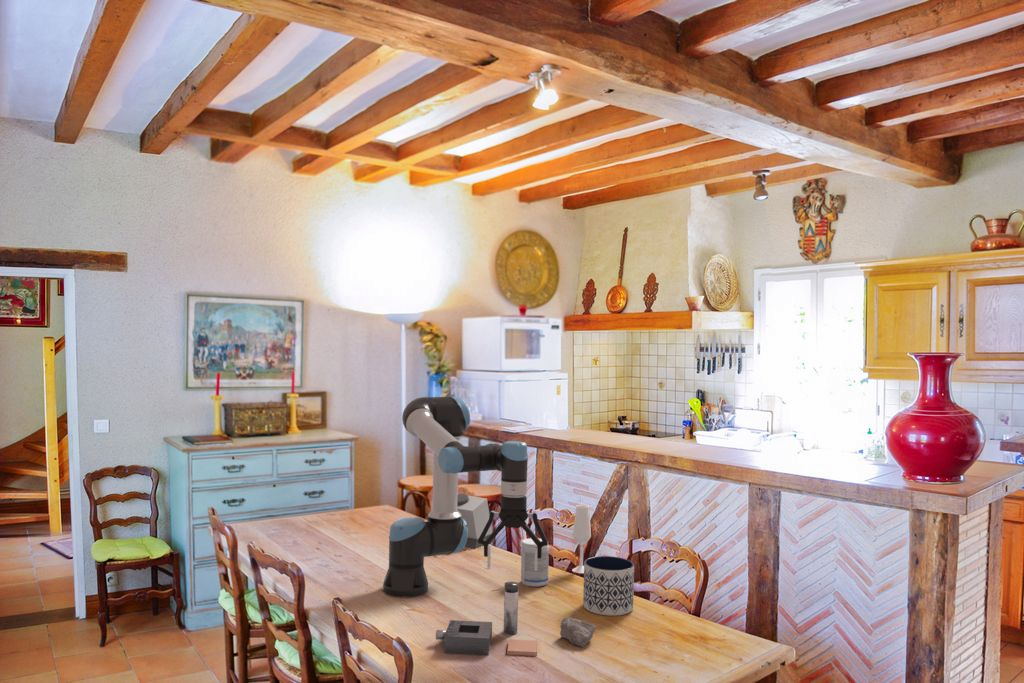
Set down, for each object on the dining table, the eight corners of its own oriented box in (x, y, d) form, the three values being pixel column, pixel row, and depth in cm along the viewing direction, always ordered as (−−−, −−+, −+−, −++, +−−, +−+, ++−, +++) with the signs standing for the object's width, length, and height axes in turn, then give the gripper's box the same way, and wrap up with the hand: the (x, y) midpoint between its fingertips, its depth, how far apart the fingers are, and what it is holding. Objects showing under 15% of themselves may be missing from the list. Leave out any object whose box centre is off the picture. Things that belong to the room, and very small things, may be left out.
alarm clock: (493, 542, 320) (494, 494, 320) (471, 550, 307) (472, 500, 307) (454, 534, 331) (456, 488, 331) (431, 542, 318) (433, 493, 318)
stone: (553, 641, 215) (553, 621, 215) (567, 633, 221) (567, 613, 221) (584, 650, 209) (584, 629, 209) (597, 641, 216) (598, 620, 216)
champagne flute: (585, 574, 278) (586, 508, 278) (568, 571, 281) (570, 506, 281) (593, 570, 284) (594, 505, 284) (577, 566, 287) (578, 503, 287)
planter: (601, 619, 232) (602, 572, 232) (573, 603, 247) (574, 559, 247) (643, 612, 240) (644, 566, 240) (614, 597, 254) (615, 553, 254)
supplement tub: (553, 584, 265) (554, 542, 265) (531, 589, 260) (532, 546, 260) (537, 577, 273) (538, 536, 273) (515, 581, 268) (516, 539, 268)
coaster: (507, 654, 205) (507, 650, 205) (508, 642, 213) (508, 639, 213) (537, 655, 204) (537, 652, 204) (537, 644, 212) (537, 640, 212)
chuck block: (432, 652, 205) (433, 635, 205) (439, 635, 217) (439, 619, 217) (488, 655, 204) (488, 638, 204) (491, 637, 216) (492, 622, 216)
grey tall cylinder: (503, 634, 219) (504, 585, 219) (503, 629, 223) (505, 581, 223) (517, 634, 219) (518, 586, 219) (517, 629, 223) (518, 581, 223)
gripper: (469, 496, 218) (468, 570, 217) (556, 498, 216) (555, 573, 216) (472, 491, 225) (470, 563, 225) (556, 494, 224) (555, 566, 224)
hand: (512, 568), depth 220 cm, fingers open, 13 cm apart
